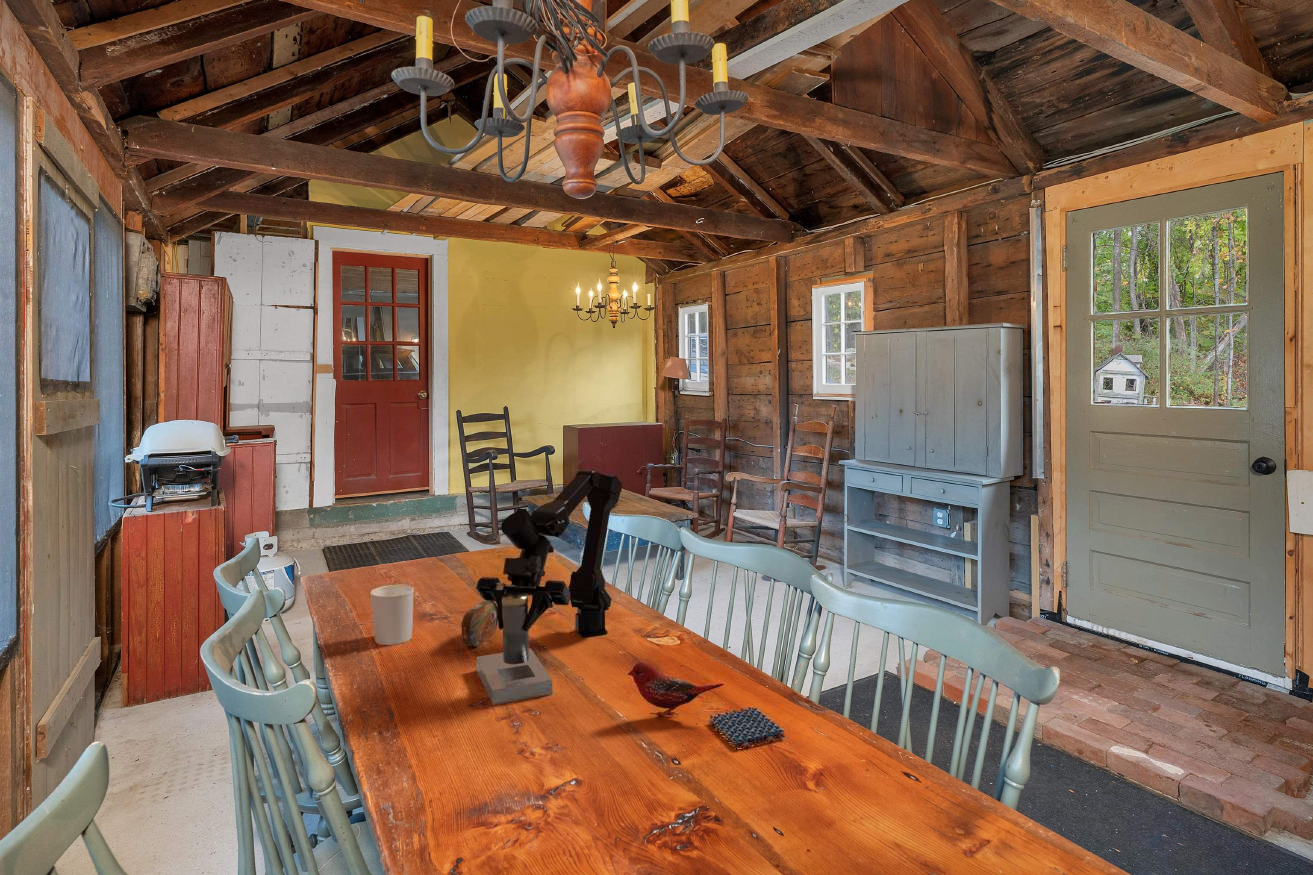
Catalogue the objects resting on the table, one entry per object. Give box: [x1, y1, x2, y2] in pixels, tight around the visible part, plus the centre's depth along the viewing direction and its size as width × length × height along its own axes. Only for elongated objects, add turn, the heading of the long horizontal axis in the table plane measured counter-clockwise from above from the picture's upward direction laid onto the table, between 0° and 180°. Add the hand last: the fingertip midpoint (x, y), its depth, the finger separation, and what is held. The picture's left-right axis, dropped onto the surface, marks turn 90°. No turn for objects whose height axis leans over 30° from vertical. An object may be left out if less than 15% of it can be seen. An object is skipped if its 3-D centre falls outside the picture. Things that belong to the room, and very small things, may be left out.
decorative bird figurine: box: [627, 662, 725, 717], centre depth 124 cm, size 3×18×10 cm, turn 88°
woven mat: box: [707, 706, 787, 749], centre depth 119 cm, size 10×11×2 cm
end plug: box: [502, 592, 530, 664], centre depth 136 cm, size 5×5×13 cm
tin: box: [460, 600, 498, 647], centre depth 163 cm, size 15×3×8 cm, turn 168°
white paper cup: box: [369, 584, 415, 646], centre depth 163 cm, size 10×10×12 cm
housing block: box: [476, 647, 554, 706], centre depth 139 cm, size 12×18×3 cm, turn 24°
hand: (512, 629), depth 135 cm, fingers closed on end plug, 5 cm apart
